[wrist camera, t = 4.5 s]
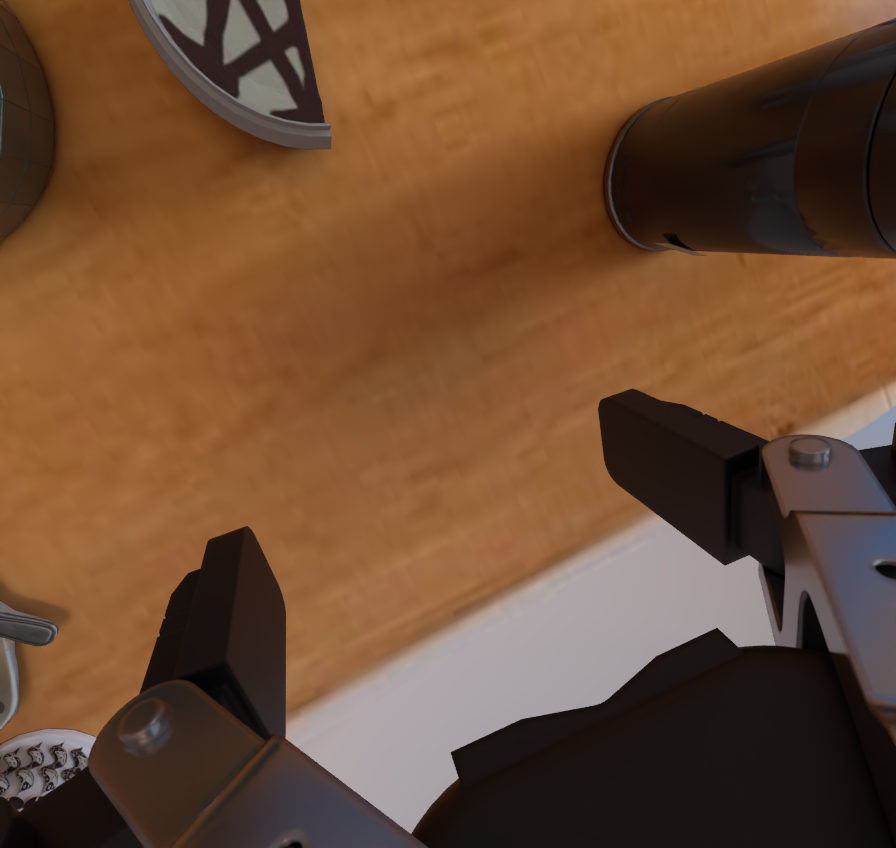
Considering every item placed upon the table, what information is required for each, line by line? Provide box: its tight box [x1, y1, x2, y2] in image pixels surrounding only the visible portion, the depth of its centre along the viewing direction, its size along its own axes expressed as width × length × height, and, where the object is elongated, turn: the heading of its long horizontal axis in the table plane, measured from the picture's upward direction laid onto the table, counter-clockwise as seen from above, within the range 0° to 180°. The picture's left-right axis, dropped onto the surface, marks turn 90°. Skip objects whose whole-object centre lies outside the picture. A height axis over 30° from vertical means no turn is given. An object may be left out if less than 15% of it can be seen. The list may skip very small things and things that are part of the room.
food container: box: [129, 0, 331, 150], centre depth 21 cm, size 12×6×10 cm, turn 9°
